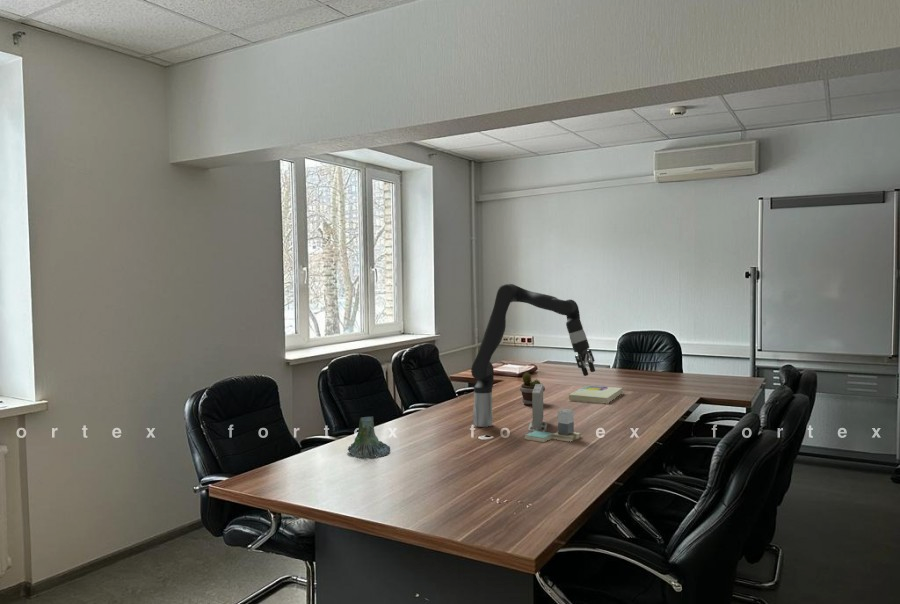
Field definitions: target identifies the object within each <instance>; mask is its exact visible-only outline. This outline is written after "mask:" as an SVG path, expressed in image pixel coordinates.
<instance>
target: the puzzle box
mask: <svg viewBox="0 0 900 604" xmlns="http://www.w3.org/2000/svg"><path fill="white" fill-rule="evenodd" d="M623 391H624V390H623V387H615V386H614V387H613V386H598V385H584V386H582V387H581V388H579V389H577V390H575V391H573V392H571V393H570V394H568V400H571V401H570V402H575V401H581V402H580V403H587V402H591V403H590V404H599V403H606V404H605V405H608V404H610V403H611V402H613V401H614V400H616V399H617V398H618V397H617V396H619V395H620V394H622V395H623ZM620 396H621V395H620ZM620 396H619V397H620ZM616 397H617V398H616ZM615 398H616V399H615ZM613 399H614V400H613ZM612 400H613V401H612ZM610 401H611V402H610ZM609 402H610V403H609ZM607 403H608V404H607Z"/></svg>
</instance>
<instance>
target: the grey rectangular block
mask: <svg viewBox="0 0 900 604" xmlns="http://www.w3.org/2000/svg"><path fill="white" fill-rule="evenodd" d="M574 416H575V415H574V409H569V408H562V409H560V410H558V411H557V428H558V429H557V432H558V434H559V435H565V436H569V435H571V434H573V433H574V432H575V430H574V428H575V427H574V425H575V424H574V422H575V421H574V420H575V419H574Z"/></svg>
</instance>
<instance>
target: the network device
mask: <svg viewBox="0 0 900 604" xmlns="http://www.w3.org/2000/svg"><path fill="white" fill-rule="evenodd" d="M543 386H544V384H543V383H541V384H535V387H534V389H533V392H532V406H531V407H532V411H531V412H532V421H530V422H529V425H528V429H527V431H529V432H532V431H542V432H543V431H544V432H547V427H548V422H546V421H544V392H543Z"/></svg>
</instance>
